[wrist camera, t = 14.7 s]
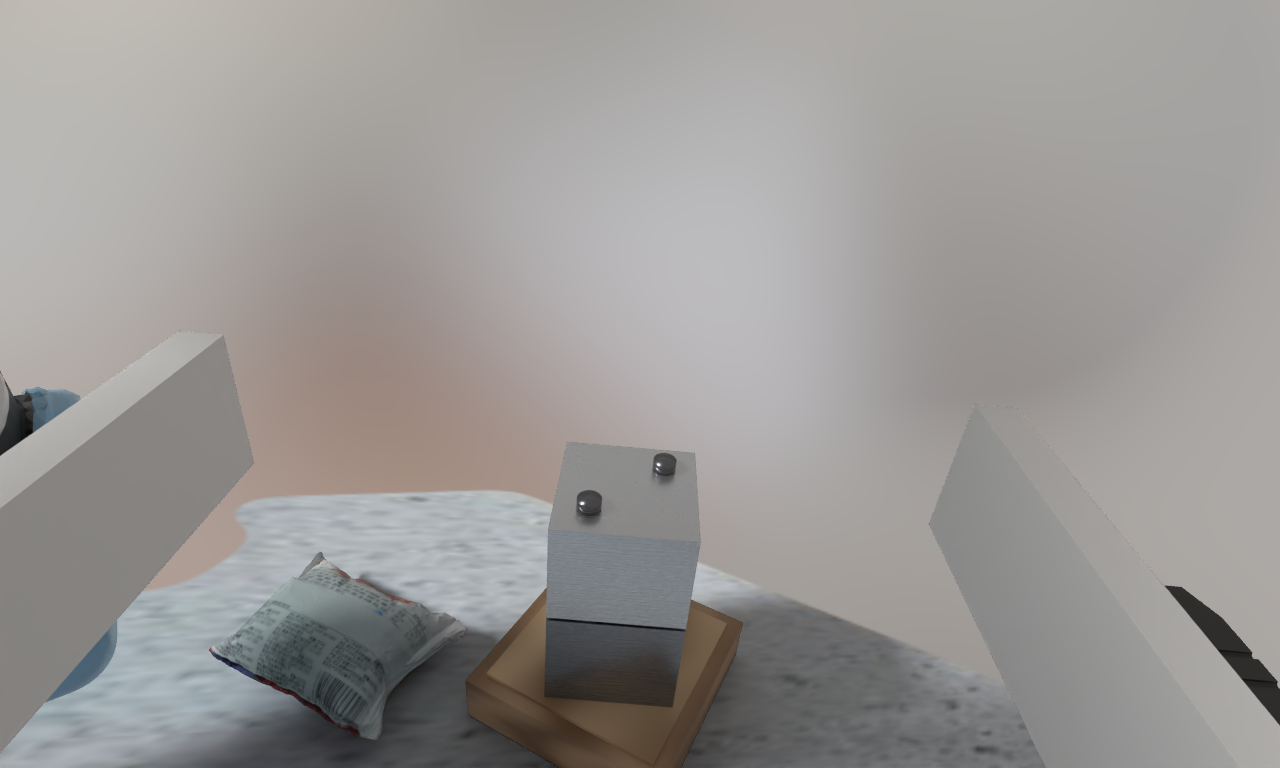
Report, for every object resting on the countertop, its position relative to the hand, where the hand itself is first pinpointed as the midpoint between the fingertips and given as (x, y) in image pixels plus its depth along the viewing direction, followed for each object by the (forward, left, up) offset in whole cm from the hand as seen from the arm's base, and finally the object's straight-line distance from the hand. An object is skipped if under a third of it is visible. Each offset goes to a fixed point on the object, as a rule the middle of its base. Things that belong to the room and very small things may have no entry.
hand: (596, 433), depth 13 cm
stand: (-7, +16, -30) cm, 35 cm away
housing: (-7, +16, -27) cm, 32 cm away
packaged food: (-21, +9, -30) cm, 38 cm away
